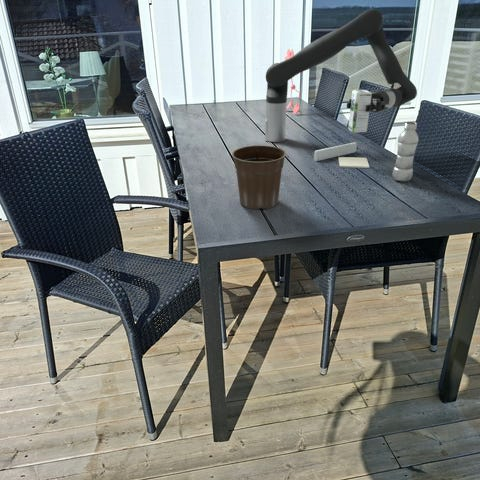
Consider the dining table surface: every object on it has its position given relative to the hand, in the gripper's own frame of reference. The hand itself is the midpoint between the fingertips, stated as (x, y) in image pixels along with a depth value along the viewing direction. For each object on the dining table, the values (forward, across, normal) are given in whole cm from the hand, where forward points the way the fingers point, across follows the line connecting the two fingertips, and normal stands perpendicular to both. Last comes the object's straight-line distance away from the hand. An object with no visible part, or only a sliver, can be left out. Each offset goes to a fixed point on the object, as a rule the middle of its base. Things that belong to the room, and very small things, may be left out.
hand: (357, 107), depth 156 cm
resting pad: (-2, 0, +22) cm, 22 cm away
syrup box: (-2, 0, +9) cm, 10 cm away
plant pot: (+53, +2, +22) cm, 57 cm away
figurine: (-52, -81, +22) cm, 99 cm away
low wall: (-4, -10, +22) cm, 24 cm away
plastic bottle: (+3, +23, +22) cm, 32 cm away
